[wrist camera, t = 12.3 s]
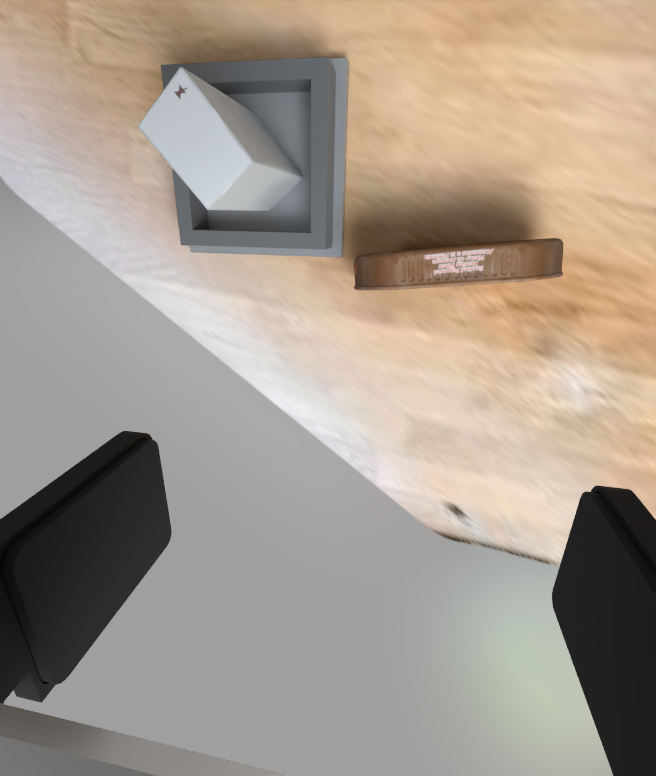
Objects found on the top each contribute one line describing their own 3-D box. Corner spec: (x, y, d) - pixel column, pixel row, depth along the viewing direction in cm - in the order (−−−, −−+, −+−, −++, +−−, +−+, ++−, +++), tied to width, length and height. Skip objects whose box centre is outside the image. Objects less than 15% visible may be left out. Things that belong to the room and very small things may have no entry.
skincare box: (222, 154, 34) (132, 123, 23) (257, 113, 33) (179, 60, 22) (269, 214, 35) (205, 212, 25) (306, 178, 34) (255, 158, 23)
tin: (361, 284, 37) (347, 301, 30) (358, 248, 36) (344, 255, 28) (542, 272, 34) (580, 287, 26) (546, 231, 33) (586, 235, 25)
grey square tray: (348, 62, 31) (340, 41, 28) (343, 256, 37) (335, 260, 33) (177, 70, 34) (149, 52, 30) (195, 251, 39) (173, 254, 35)
